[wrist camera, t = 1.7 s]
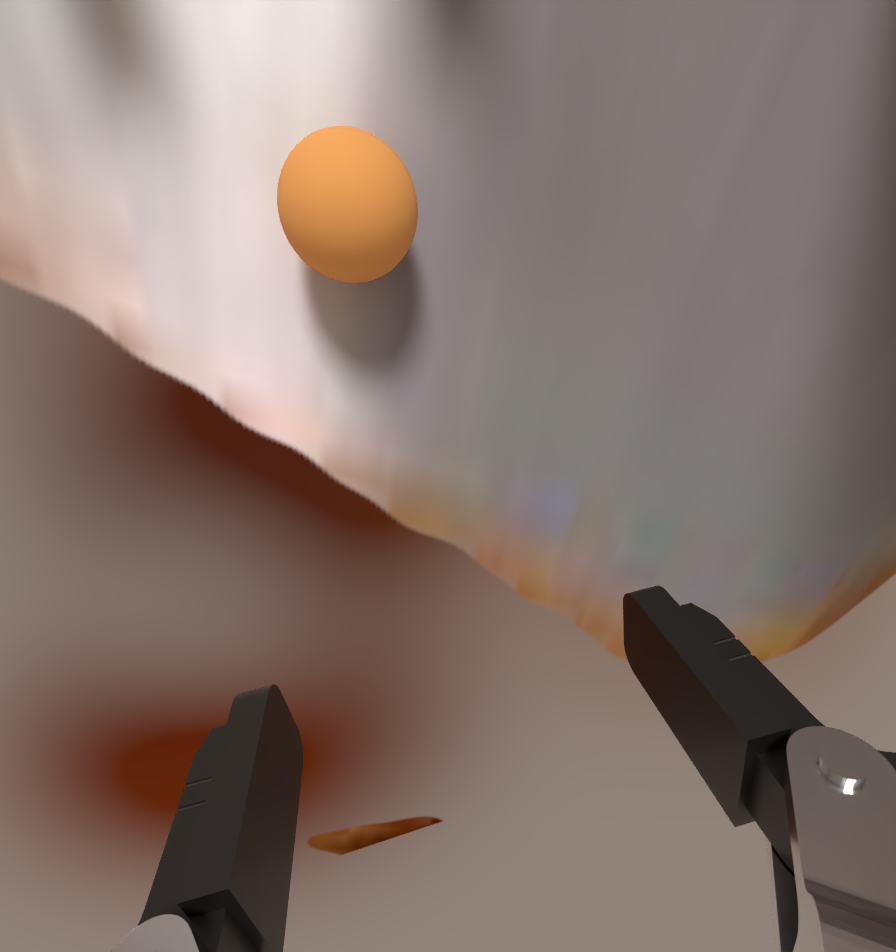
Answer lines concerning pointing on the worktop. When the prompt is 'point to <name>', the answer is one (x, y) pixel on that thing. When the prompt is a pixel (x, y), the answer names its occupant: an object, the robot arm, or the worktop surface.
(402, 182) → the ball
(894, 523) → the worktop surface
